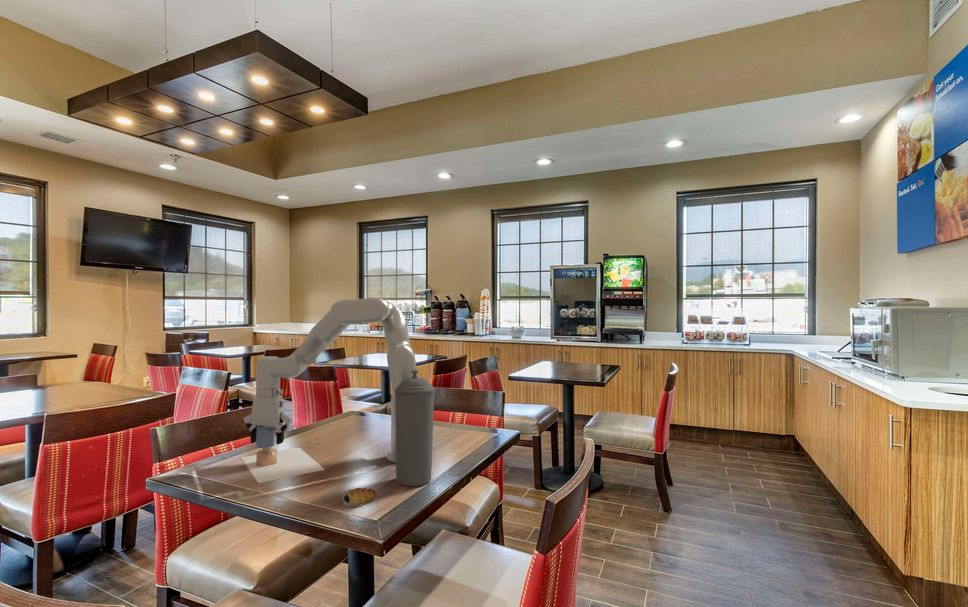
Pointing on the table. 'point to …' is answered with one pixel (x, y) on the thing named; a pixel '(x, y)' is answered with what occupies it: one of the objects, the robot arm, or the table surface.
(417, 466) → the canister
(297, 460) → the board
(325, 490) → the table surface
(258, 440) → the cap
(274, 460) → the round stamp handle
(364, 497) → the pastry
